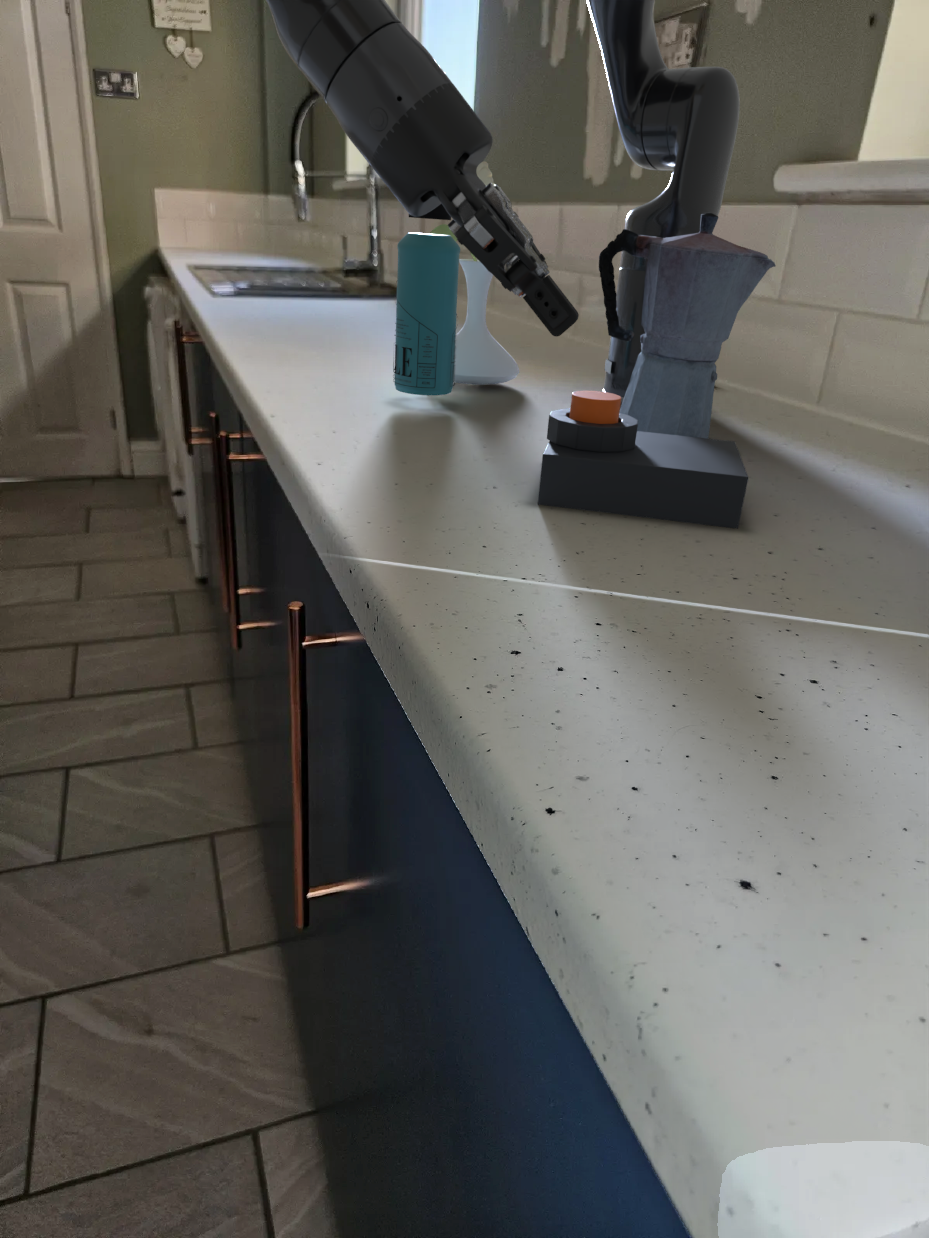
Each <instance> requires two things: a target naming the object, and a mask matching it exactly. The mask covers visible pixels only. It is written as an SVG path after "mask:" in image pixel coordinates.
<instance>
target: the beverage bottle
mask: <svg viewBox="0 0 929 1238" xmlns="http://www.w3.org/2000/svg"><path fill="white" fill-rule="evenodd" d="M408 218H414V219H426V220H428V219H429V220H441V221H452V217H451V216H450V215H449V214H448V212H447V211H446V209H445V208H444V206H443V205H442V203H441V204H440V205H439V206H437V207H436V208H435V209H433V210H432V211H430V212H429V213H427V214H425V215H422V216H419V217H415V216H412V215H410V214H409V213H408ZM396 245H397V246H396V247H397V280H396V283H395V284H396V290H394V291H395V293H396V295H395V296H394V298H395V299H396V300H395V301H394V303H395V306H396V307H395V322H394V324H395V330H394V332H395V334H394V336H395V341H394V361H393V366H392V367H393V368H392V370H393V380H392V382H393V383H394V386H395V390H396V391H398V392H401V393H404V394H409V395H417V396H431V397H432V396H446V395H449V394H451V393H452V391H453V388H454V386H455V385H456V384H455V383H456V382H454V381H455V380H454V379H455V378H454V377H455V375H454V374H455V373H454V372H455V370H454V366H456V365H454V364H455V362H456V361H455V358H456V357H455V349H456V348H455V347H456V346H455V342H456V341H457V340H455V338H456V334H457V328H458V324H459V323H457V319H459V317H458V314H457V308H458V307H457V306H458V290H459V289H458V288H459V269H460V263H459V259H460V253H461V247H460V245H459V244H458V242H457V241H455V240H454V239H453V238H452V237H451V236H450V235H439V234H429V233H425V232H424V233H423V232H407V233H406V234H405V235H404V236H403V237H402V238H401V239H400V240H399V242H398V243H397V244H396ZM455 369H456V368H455ZM453 380H454V381H453Z"/></svg>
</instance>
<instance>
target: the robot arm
mask: <svg viewBox="0 0 929 1238" xmlns="http://www.w3.org/2000/svg"><path fill="white" fill-rule="evenodd" d="M656 1H657V0H586V4H587V7H588V11H589V14H590V18H591V21H592V23H593V27H594V31H595V34H596V37H597V41H598V44H599V48H600V50H601V52H600V53H601V56H602V60H603V64H604V69H605V72H606V73H605V74H606V78H607V81H608V87H609V91H610V95H611V96H610V97H611V100H612V105H613V109H614V113H615V118H616V122H617V127H618V130H619V133H620V137H621V141H622V144H623V146H624V148H625V151H626V153H627V155H628V157H629V158H630V160H631V161H632V162H633V163H634V164H635V165H636V166H638V167H640V168H642V169H645V170H648V171H649V170H650V171H660V172H661V171H662V172H665V171H667V172H672V173H671V177H670V180H669V183H668V185H667V187H666V188H665V189H664V190H663V191H662V192H661V193H660V194H659V195H658V196H656V197H654V198H653V199H651V200H650V201H647V202H645V203H643V204H641V205H639V206H636V207H633V208H632V209H631V210H629V212H628V213H627V215H626V218H625V225H624V229H627V230H630V231H632V232H635V233H636V234H638V235H643V236H653V237H660V238H668V237H675V236H681V235H688V234H695V233H699V232H700V221H701V215H702V214H705V213H713V214H715V215H716V216H718V217H719V214H720V212H721V208H722V204H723V199H724V195H725V190H726V185H727V179H728V177H729V170H730V167H731V163H732V162H731V161H732V157H733V153H734V149H735V145H736V141H737V140H736V139H737V134H738V129H739V122H740V112H741V109H740V108H741V98H740V90H739V85H738V82H737V80H736V77H735V76H734V74H733V73H732V72H731V71H730V70H729V69H727V68H725V67H722V66H697V67H696V66H693V67H679V68H678V67H677V68H676V67H675V68H669V67H668V66H667V64H666V63H665V61H664V59H663V55H662V53H661V50H660V46H659V41H658V37H657V32H656V24H655V6H656ZM265 2H266V4H267V6H268V8H269V12H270V14H271V16H272V17H271V18H272V21H273V25H274V28H275V30H276V33H277V36H278V39H279V41H280V43H281V45H282V47H283V48H284V51H285V52H286V54H287V55H288V57H289V58H290V59H291V61H292V62H293V64H294V65H295V66H296V68H297V69H298V70H299V71H300V72H301V74H302V75H303V76H304V77H305V78H306V80H307V81H308V82H309V84H310V85H311V86H312V87H313V89H314V90H315V91H316V93H317V94H318V95H319V96H320V97H321V99H322V100H323V101H324V102H325V104H326V105H327V107H328V108H329V110H330V111H331V112H332V114H333V115H334V117H335V118H336V120H337V122H338V124H339V125H340V128H341V129H342V131H343V132H344V133H345V135H346V136H347V138H348V139H349V140H350V142H351V143H352V144H353V145H354V147H355V148H356V150H357V151H358V152H359V153H360V154H361V156H362V157H363V158H364V159H365V161H366V162H367V163H368V165H369V166H370V167H371V168H372V169H373V171H374V172H375V173H376V174H377V176H378V177H379V178H380V179H381V181H382V182H383V183H384V184H385V185H386V188H388V189H389V191H390V192H391V193H392V195H393V197H395V198H396V200H397V201H398V202H399V204H401V206H402V207H403V208H404V209H405V211H406V212H407V213H408V215H409V214H410V215H412V216H415V217H419V216H422V215H425V214H427V213H429V212H430V211H432V210H433V209H435V208H436V207H437V206H439V205H440V204H441V203H442V205H443V206H444V208H445V209H446V211H447V212H448V214H449V215H450V216H451V220H450V222H449V223H448V224H447V225H448V227H449V229H450V230H451V231H452V233H453V234H454V235H455V236H456V238H457V243H459V244H460V245H461V246H463V247H465V249H467V250H468V251H469V253H470V252H471V253H472V254H473V255H474V256H475V257H476V259H477V260H479V261H480V262H481V263H482V264H483V265H484V266H485V268H486V269H487V270H488V271H489V272H490V273H492V274H493V277H495V279H497V281H498V282H499V283H500V284H501V286H502V287H503V288H504V289H505V290H507V291H508V292H512V293H513V294H514V296H517V297H518V298H522V299H523V300H524V301H525V302H526V304H527V305H528V306H529V308H530V309H531V310H532V312H533V313H534V314H535V315H536V317H537V318H538V319H539V320H540V322H541V323H542V324H543V326H544V327H545V329H546V330H547V331H548V332H549V334H551V335H552V336H553V337H560V336H562V335H563V334H564V333H566V331H567V330H569V329H570V328H571V327H572V326H573V325H574V324H575V323H576V322H577V321H578V320H579V316H580V315H579V312H578V310H577V309H576V307H575V306H574V305H573V304H572V302H571V301H570V300H569V298H568V297H567V296H566V295H565V294H564V292H563V291H562V289H561V288H560V287H559V286H558V284H557V283H556V281H554V279H553V278H552V276H551V275H550V269H548V268H549V266H548V263H547V261H546V257H545V256H544V255H543V253H540V250H539V249H538V247H537V246H536V244H535V242H534V236H533V235H532V233H531V232H530V231H529V229H528V228H527V227H526V225H524V223H523V221H522V220H521V219H520V217H519V215H518V214H517V212H516V211H514V210H513V204H512V201H511V200H510V198H509V197H508V196H507V194H506V193H505V191H504V190H503V189H502V188H501V187H500V186H499V185H498V184H497V183H495V186H494V185H493V184H492V183H489V184H488V185H487V186H486V185H485V184H484V183H483V182H482V180H481V179H479V177H478V176H477V173H476V170H477V167H478V165H479V164H480V163H481V162H484V161H485V160H486V159H487V157H488V155H489V153H490V151H491V149H492V147H493V136H492V133H491V132H490V130H489V129H488V128H487V126H486V124H484V123H483V121H482V120H481V119H480V117H479V116H478V114H477V113H476V111H475V110H474V109H473V108H472V106H471V105H470V104H469V103H468V102H467V100H466V99H465V97H464V96H463V95H462V93H461V92H460V91H459V89H458V88H457V87H456V85H455V84H454V83H453V81H451V79H450V78H449V76H448V75H447V74H446V72H445V71H444V70H443V68H442V67H441V66H440V64H439V63H438V62H437V60H436V59H435V58H434V56H433V55H432V54H431V52H429V50H428V49H427V48H426V47H425V46H424V45H423V44H422V43H421V42H420V41H419V40H418V39H417V38H416V37H415V36H414V35H413V33H411V32H410V31H409V30H408V28H407V27H406V26H405V25H404V24H403V23H402V21H401V19H400V18H399V17H398V15H396V13H395V11H394V10H393V9H392V8H391V6H390V5H389V4H388V2H387V1H386V0H265ZM471 253H470V254H471ZM645 271H646V259H645V258H643V257H636V256H633V255H631V254H629V253H627V252H626V251H621V255H620V263H619V272H618V277H617V278H618V279H617V287H616V295H617V296H616V301H617V307H616V311H617V315H618V318H619V326H620V327H621V328H622V329H624V330H631V331H632V332H633V333H634V336H633V338H632V339H631V341H624V340H620V339H617V338H614V337H611V336H610V339H609V345H608V347H609V348H608V353H607V355H608V356H607V358H605V363H604V371H605V375H604V376H605V377H604V385H603V389H602V392H608V393H612V394H616V395H619V396H620V397H621V404H620V406H622V403H623V400H624V397H625V394H626V391H627V388H628V385H629V382H630V379H631V375H632V372H633V370H634V367H635V364H636V361H637V358H638V355H639V354H640V353H641V342H640V336H641V335H642V334H645V331H644V328H643V326H642V325H641V322H642V311H643V299H644V285H645Z"/></svg>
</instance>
